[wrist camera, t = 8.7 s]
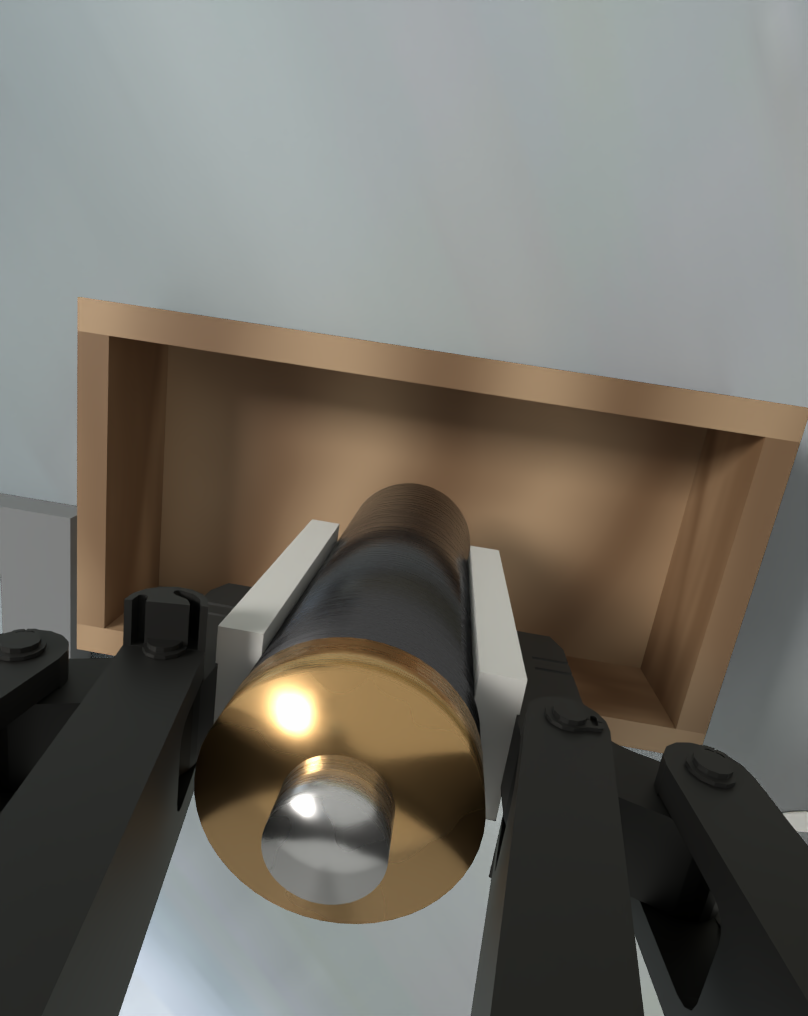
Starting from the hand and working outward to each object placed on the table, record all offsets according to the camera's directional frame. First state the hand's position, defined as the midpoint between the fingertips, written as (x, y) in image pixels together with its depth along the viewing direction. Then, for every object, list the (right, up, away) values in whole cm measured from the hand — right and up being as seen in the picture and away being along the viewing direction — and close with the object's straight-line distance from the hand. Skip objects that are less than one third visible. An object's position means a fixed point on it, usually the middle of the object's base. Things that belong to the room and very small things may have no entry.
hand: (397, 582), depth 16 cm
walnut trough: (+1, +2, +8) cm, 8 cm away
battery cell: (0, +1, +4) cm, 4 cm away
